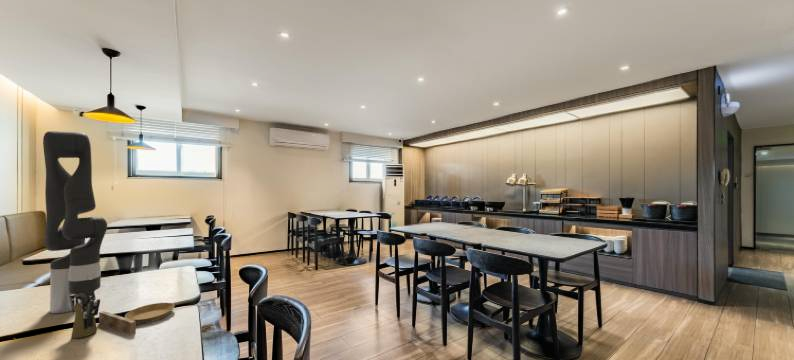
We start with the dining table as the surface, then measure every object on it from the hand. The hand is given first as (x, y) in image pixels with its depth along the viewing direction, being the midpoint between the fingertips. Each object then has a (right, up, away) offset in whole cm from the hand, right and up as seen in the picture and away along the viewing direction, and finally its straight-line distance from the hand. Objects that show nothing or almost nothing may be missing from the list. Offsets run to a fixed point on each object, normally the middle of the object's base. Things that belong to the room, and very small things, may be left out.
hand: (84, 326), depth 101 cm
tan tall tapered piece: (0, -3, 0) cm, 3 cm away
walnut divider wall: (+6, -3, +5) cm, 8 cm away
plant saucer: (+11, -3, +14) cm, 18 cm away
